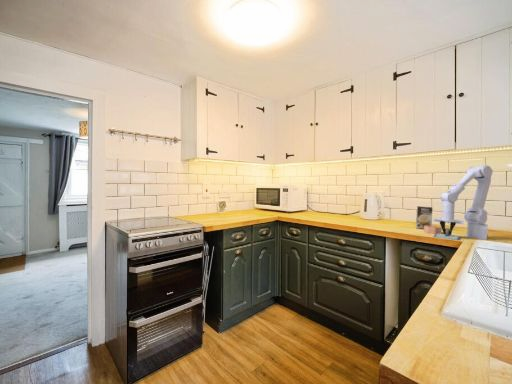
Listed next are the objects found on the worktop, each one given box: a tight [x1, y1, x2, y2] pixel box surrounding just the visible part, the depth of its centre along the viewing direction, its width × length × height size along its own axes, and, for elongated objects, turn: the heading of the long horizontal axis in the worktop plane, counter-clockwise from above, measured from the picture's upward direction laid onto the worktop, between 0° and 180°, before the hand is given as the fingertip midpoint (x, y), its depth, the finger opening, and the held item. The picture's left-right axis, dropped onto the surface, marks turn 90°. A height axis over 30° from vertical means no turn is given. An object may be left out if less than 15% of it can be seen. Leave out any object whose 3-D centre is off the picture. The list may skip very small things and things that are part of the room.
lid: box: [435, 228, 459, 241], centre depth 151 cm, size 10×10×5 cm
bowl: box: [423, 224, 442, 235], centre depth 165 cm, size 9×9×4 cm
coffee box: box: [415, 206, 433, 230], centre depth 181 cm, size 9×6×16 cm
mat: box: [432, 234, 462, 241], centre depth 151 cm, size 13×12×1 cm
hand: (447, 234), depth 151 cm, fingers closed on lid, 2 cm apart
